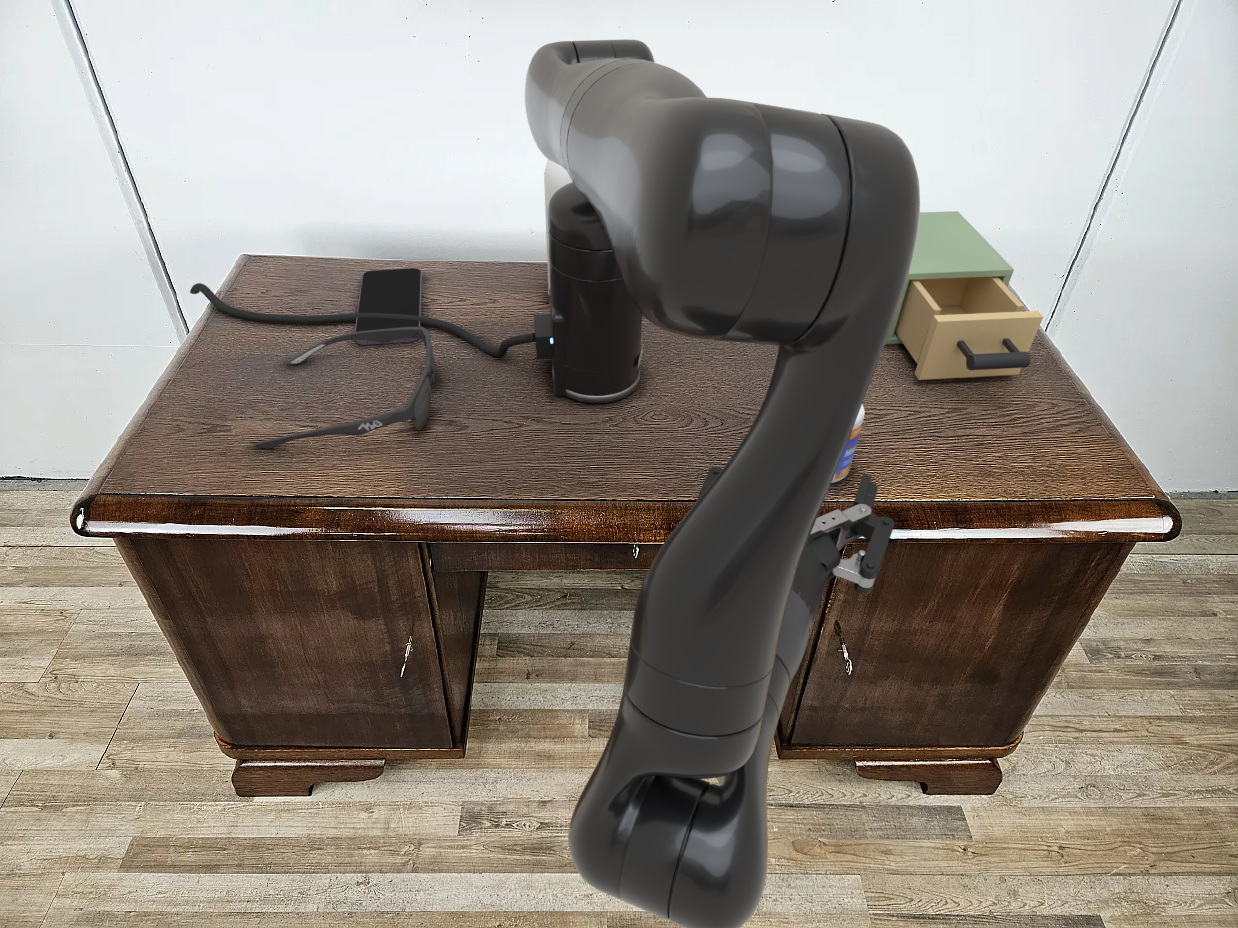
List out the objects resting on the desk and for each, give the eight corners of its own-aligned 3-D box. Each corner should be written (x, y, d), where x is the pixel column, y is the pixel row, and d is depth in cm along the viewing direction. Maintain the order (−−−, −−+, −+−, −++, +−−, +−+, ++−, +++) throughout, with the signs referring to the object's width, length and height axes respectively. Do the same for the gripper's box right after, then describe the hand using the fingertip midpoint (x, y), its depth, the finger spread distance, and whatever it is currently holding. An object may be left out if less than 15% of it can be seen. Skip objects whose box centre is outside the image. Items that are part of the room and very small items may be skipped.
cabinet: (987, 339, 96) (1014, 269, 90) (884, 344, 94) (904, 273, 88) (936, 277, 107) (957, 211, 100) (843, 281, 105) (859, 214, 99)
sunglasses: (433, 451, 79) (419, 410, 75) (260, 471, 79) (239, 431, 75) (448, 353, 91) (437, 314, 87) (298, 370, 91) (281, 332, 88)
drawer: (1038, 398, 86) (1065, 339, 81) (934, 404, 85) (955, 345, 80) (965, 309, 99) (984, 254, 94) (874, 313, 98) (889, 257, 93)
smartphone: (352, 340, 91) (362, 270, 102) (354, 348, 92) (363, 278, 103) (419, 336, 92) (422, 267, 103) (421, 344, 93) (423, 275, 104)
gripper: (875, 614, 50) (913, 456, 62) (659, 543, 54) (732, 407, 66) (849, 683, 55) (889, 526, 67) (653, 614, 59) (722, 476, 71)
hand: (811, 467), depth 66 cm, fingers open, 8 cm apart
